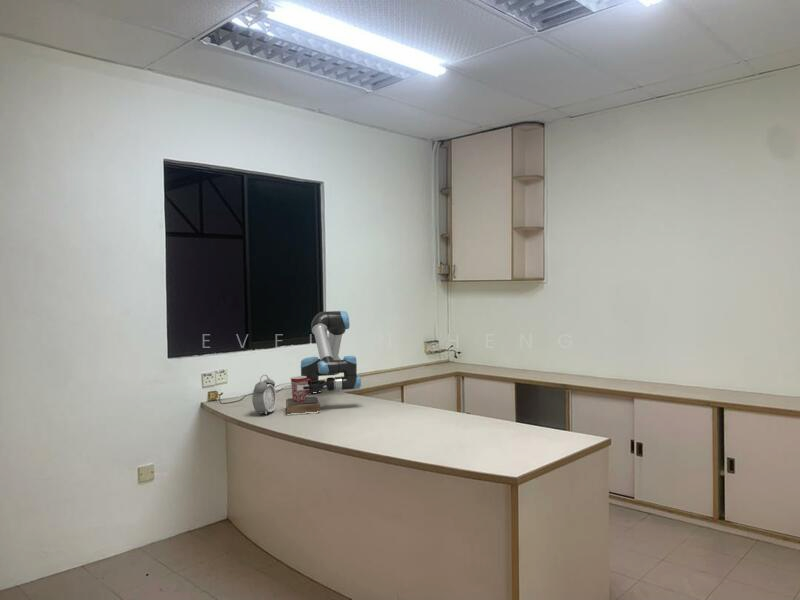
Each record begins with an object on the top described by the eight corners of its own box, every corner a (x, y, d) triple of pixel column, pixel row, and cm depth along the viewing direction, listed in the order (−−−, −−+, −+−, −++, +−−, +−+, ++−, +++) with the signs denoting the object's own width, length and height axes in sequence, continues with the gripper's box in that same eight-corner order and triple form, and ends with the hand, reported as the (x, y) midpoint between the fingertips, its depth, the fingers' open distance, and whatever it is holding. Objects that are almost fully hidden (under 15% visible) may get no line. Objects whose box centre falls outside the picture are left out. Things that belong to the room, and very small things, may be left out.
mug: (294, 403, 311) (294, 379, 311) (288, 400, 319) (288, 376, 318) (315, 400, 318) (314, 376, 317) (309, 397, 325) (308, 374, 325)
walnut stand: (286, 408, 325) (286, 398, 325) (317, 406, 329) (317, 396, 329) (287, 415, 307) (286, 404, 307) (319, 413, 311) (319, 402, 311)
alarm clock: (265, 417, 303) (264, 377, 303) (251, 416, 305) (250, 377, 304) (278, 410, 319) (277, 372, 319) (264, 410, 321) (263, 372, 321)
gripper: (336, 394, 310) (297, 396, 305) (331, 386, 334) (295, 388, 329) (336, 380, 309) (297, 383, 305) (331, 374, 334) (295, 375, 329)
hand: (296, 385), depth 317 cm, fingers open, 13 cm apart
